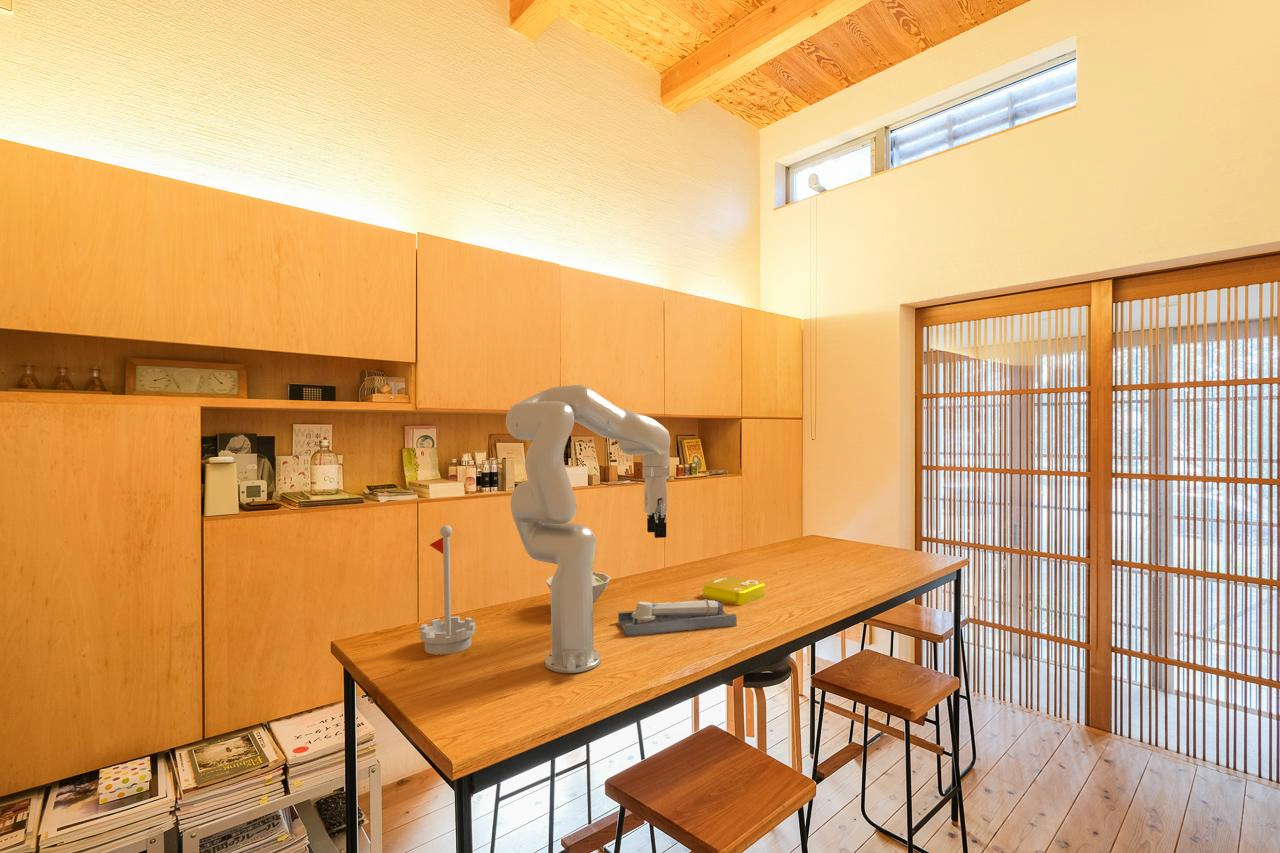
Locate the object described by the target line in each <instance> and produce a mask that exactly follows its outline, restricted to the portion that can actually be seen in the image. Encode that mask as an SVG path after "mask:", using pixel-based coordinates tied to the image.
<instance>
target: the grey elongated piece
mask: <svg viewBox="0 0 1280 853" xmlns="http://www.w3.org/2000/svg"><path fill="white" fill-rule="evenodd" d="M719 603H720V601H715V600H711V599H707V598H704V599H703V600H690V601H673V602H672V601H671V602H658V603H657V602H655V603H652V602H649V601H638V602H637V604H636V607H635V611H636V612H634V613H632V617H633V623H642V622H653V621H654V619H655V618H656V615H704V616H705V617H706V616H708V615H718V614H719V613H720V604H719Z"/></svg>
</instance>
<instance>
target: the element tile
mask: <svg viewBox="0 0 1280 853" xmlns="http://www.w3.org/2000/svg"><path fill="white" fill-rule="evenodd" d="M702 597H703V598H704V599H707V598H708V599H707V600H711V599H712V600H711V601H715V600H717V601H718V602H720V601H721V602H720V603H723V604H728V603H729V605H733V604H734V606H745V605H747V604H750V603H752V602H754V600H755V601H757V600H759V598H760V599H762V598H764V597H766V584H765V583H764V582H762V581H758V580H753V579H752V580H751V579H747V578H741V577H736V576H729V575H728V576H724V577H721V578H717V579H715V580H713V581H712V580H711V581H709V582H706V583H703V584H702ZM751 601H752V602H751ZM749 602H750V603H749ZM746 603H747V604H746ZM744 604H745V605H744Z"/></svg>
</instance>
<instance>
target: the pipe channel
mask: <svg viewBox="0 0 1280 853" xmlns="http://www.w3.org/2000/svg"><path fill="white" fill-rule="evenodd" d="M719 604H720V613H719V614H718V615H708V616H706V617H705V616H704V615H656V618H655V619H654V621H653V622H642V623H633V617H632V613H634V612H636V610H631V611H629V610H628V611H619V612H617V618H618V619H617V623H618V625H619V624H620V625H619V626H620V628H621V630H622V631H624V632H623V633H624V636H625V637H627V638H628V637H635V636H636V637H637V636H644V635H645V636H647V635H654V634H665V633H666V634H667V633H676V631H678V632H685V631H686V630H688V631H696V630H695V629H698V630H706V629H705V628H708V629H714V627H718V628H725V627H726V628H727V626H728V627H736V626H737V625H738V623H737V614H736V613H731V614H730V613H729V614H728V613H726V611H724V603H723V602H719Z"/></svg>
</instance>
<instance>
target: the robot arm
mask: <svg viewBox="0 0 1280 853" xmlns="http://www.w3.org/2000/svg"><path fill="white" fill-rule="evenodd" d="M575 423H577V424H579V425H581V426H582V427H584V428H586V429H588V430H589V431H591V432H593V433H594V434H595V435H597V436H600V437H602V438H605V439H611V440H613V441H614V440H617V445H618V448H619V449H620V450H621V452H622V453H624V454H626V455H628V456H642V479H644V493H643V512H645V513H646V514H647V519H646V524H647V528H646V530H647V531H646V532H648V533H654V534H653V535H654V538H656V539H657V538H658V539H659V538H660V539H663V538H667V516H666V515H667V514H668V485H667V484H668V483H667V479H670V477H671V476H670V474H671V473H670V468H671V467H670V460H671V459H670V458H671V457H670V456H671V455H670V446H671V443H672V442H671V441H672V440H671V436H670V432H669V430H668V429H667V428H665V426H664V425H662V424H661V423H659V422H658V421H656V419H653V418H651V417H650V416H647V415H645V414H641V413H638V412H634V411H632V410H628V409H626V408H623V407H619V406H617V405H615V404H614V403H613V402H611V401H610V400H608V399H606V397H604V396H602V394H600V393H597V392H596V391H595V390H593V389H592V388H590V387H588V386H587V385H583V384H574V385H573V384H572V385H571V384H570V385H561V386H553V387H550V388H547V389H545V390H542V391H540V392H538V393H536V394H534V395H532V396H530V397H528V398H525V399H523V400H521V401H519V402H516V403H515V404H514V405H512V406H511V407H510V408H509V410H508V412H507V413H506V418H505V427H506V430H507V432H508V433H509V434H510V435H511V436H512V437H513V438H515V439H518V440H521V441H531V443H530V445H529V446H528V449H527V452H526V456H525V458H524V470H525V474H526V478H527V480H525V481H524V480H523V481H522V482H520V483H519V484H517V485H516V486H515V488H514V489H513V490H512V493H511V496H510V511H511V516H512V518H513V521H514V524H515V527H516V529H517V532H518V534H519V535H518V536H519V537H520V540H521V543H522V546H523V548H524V550H525V551H526V554H528V556H530V558H532V559H533V560H535V561H538V562H543V563H548V564H554V565H557V568H556V570H555V572H554V574H553V575H552V576H553V578H552V581H551V588H549V590H550V623H551V624H550V626H551V629H550V630H551V637H550V638H551V653H549V654H547V655H546V656H545V658H544V666H545V667H546V668H547V669H548V670H550V671H553V672H555V673H560V674H561V673H562V674H577V673H582V672H583V673H584V672H587V671H590V670H593V669H595V668H596V667H598V666H599V665H600V663H601V661H602V660H601V659H602V656H601V654H600V652H598V651H597V650H595V648H594V603H593V591H592V575H593V572H594V571H593V570H594V562H595V556H596V550H597V539H596V535H595V534H594V532H593V530H592V529H590V528H589V527H587V526H586V525H583V524H580V523H577V522H576V523H574V522H570V521H572V520H574V518H575V516H576V514H577V510H578V505H577V499H576V497H575V493H574V489H573V487H572V484H571V481H570V477H569V474H568V471H567V468H566V464H565V461H564V459H565V458H564V453H565V448H566V446H567V442H568V440H569V437H570V435H571V434H572V431H573V429H574V425H575Z"/></svg>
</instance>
